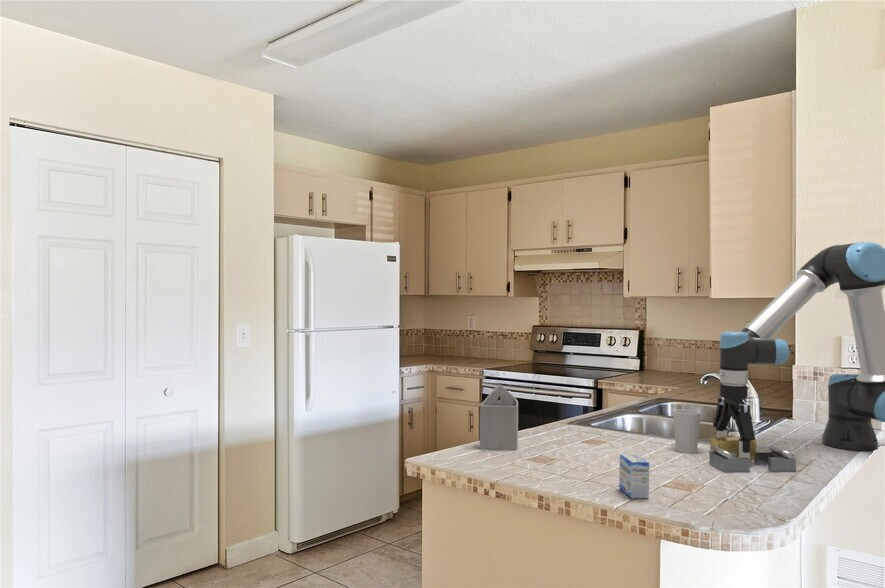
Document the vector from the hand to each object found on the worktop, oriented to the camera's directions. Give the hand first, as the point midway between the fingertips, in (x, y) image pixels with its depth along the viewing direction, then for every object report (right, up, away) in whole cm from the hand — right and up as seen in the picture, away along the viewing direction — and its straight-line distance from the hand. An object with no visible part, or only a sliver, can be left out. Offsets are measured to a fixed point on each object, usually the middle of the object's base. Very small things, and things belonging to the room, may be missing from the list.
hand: (732, 458), depth 185 cm
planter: (-65, 0, +11) cm, 66 cm away
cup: (-10, 0, +9) cm, 14 cm away
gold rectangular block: (0, 0, 0) cm, 0 cm away
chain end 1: (-6, 0, -10) cm, 12 cm away
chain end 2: (+7, 0, -10) cm, 12 cm away
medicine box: (-39, 0, -34) cm, 52 cm away
